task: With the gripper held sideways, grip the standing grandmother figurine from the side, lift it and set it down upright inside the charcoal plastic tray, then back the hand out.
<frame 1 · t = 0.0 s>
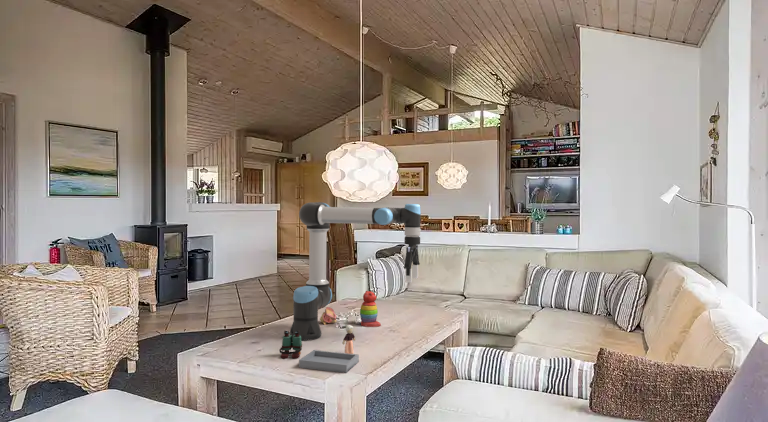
hand: (411, 280, 244), 28 cm above the table, tool pointing down, fingers open, 13 cm apart
stacking bear: (369, 325, 270), on the table
tray: (329, 364, 204), on the table
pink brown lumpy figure: (329, 323, 272), on the table
binoculars: (291, 357, 214), on the table
grandmother figurine: (349, 355, 218), on the table
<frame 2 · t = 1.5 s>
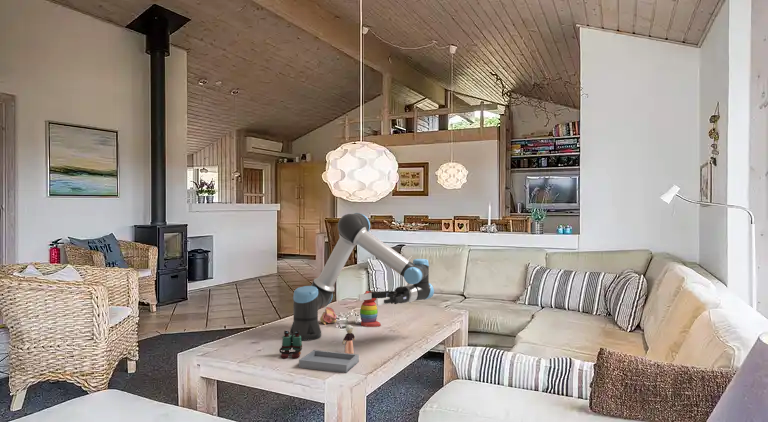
hand: (368, 299, 224), 22 cm above the table, tool horizontal, fingers open, 13 cm apart
nothing on the table moved.
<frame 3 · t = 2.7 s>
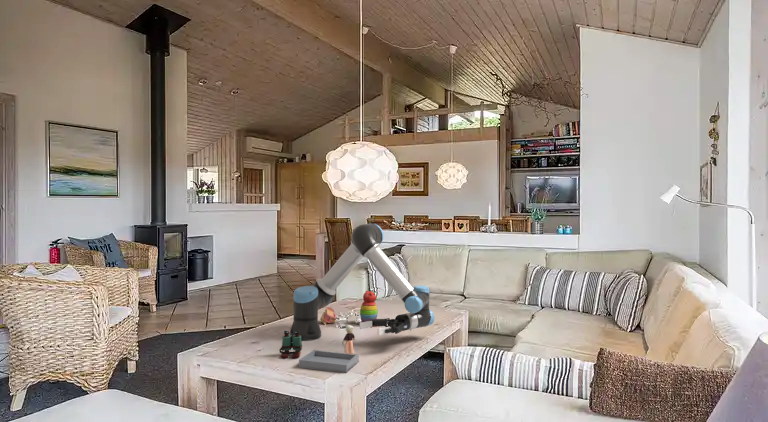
hand: (368, 329, 224), 10 cm above the table, tool horizontal, fingers open, 13 cm apart
nothing on the table moved.
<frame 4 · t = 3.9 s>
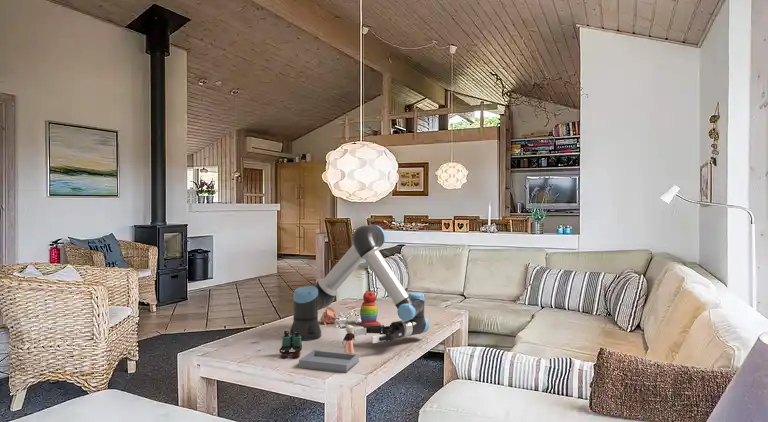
hand: (362, 336, 222), 7 cm above the table, tool horizontal, fingers open, 13 cm apart
nothing on the table moved.
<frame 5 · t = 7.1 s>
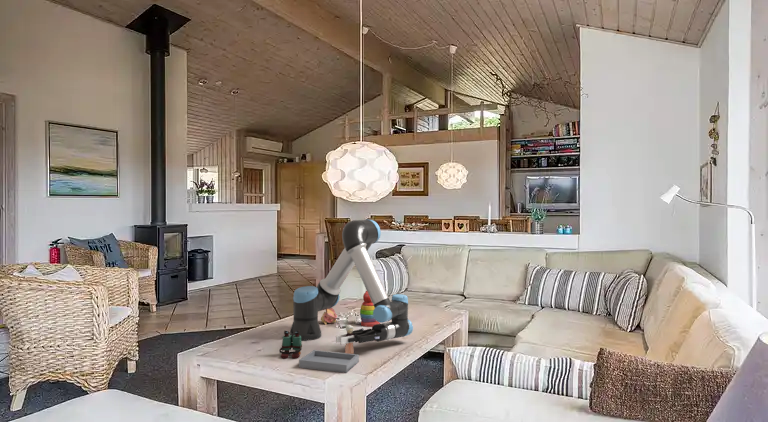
hand: (338, 340, 215), 7 cm above the table, tool horizontal, fingers closed on grandmother figurine, 3 cm apart
grandmother figurine: (349, 354, 218), on the table, touching gripper
everything else where it was.
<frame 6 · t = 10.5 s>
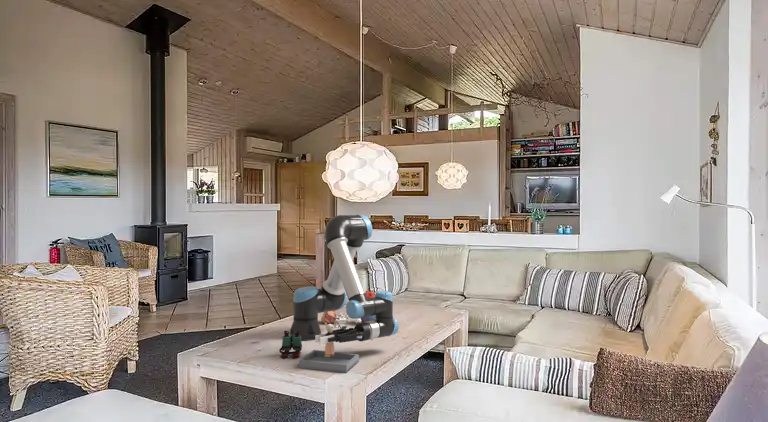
hand: (317, 340, 201), 11 cm above the table, tool horizontal, fingers closed on grandmother figurine, 3 cm apart
grandmother figurine: (330, 355, 204), point 4 cm above the table, touching gripper
everything else where it was.
when the fingers open (10 cm above the table, at t = 10.9 s): grandmother figurine drops 1 cm, resting on tray.
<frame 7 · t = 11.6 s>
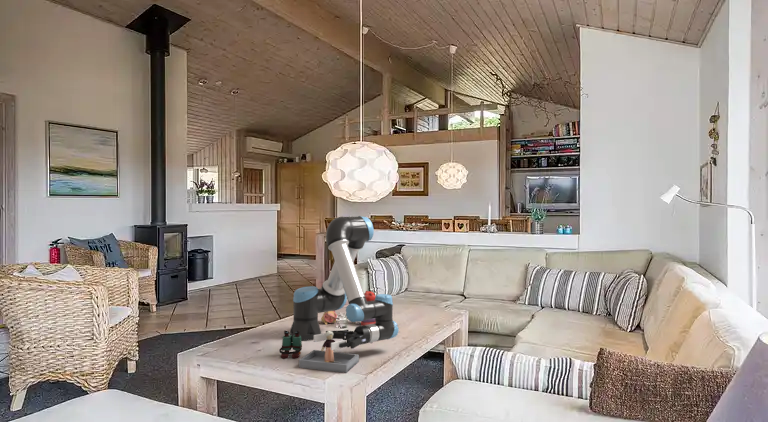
hand: (322, 342, 202), 9 cm above the table, tool horizontal, fingers open, 13 cm apart
grandmother figurine: (329, 362, 204), point 1 cm above the table, touching tray
everything else where it was.
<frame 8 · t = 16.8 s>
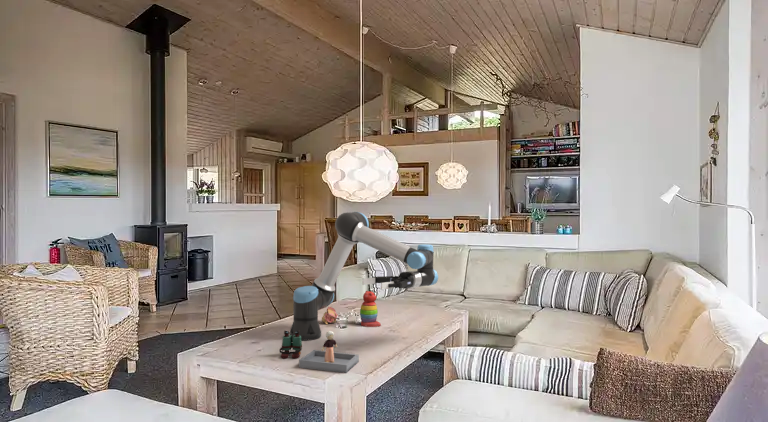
hand: (371, 284, 220), 30 cm above the table, tool horizontal, fingers open, 13 cm apart
at the end: grandmother figurine inside the target area on the tray (0.2 cm from its centre), point 0.8 cm above the tray's base; grandmother figurine tilted 0°; the gripper is holding nothing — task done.
